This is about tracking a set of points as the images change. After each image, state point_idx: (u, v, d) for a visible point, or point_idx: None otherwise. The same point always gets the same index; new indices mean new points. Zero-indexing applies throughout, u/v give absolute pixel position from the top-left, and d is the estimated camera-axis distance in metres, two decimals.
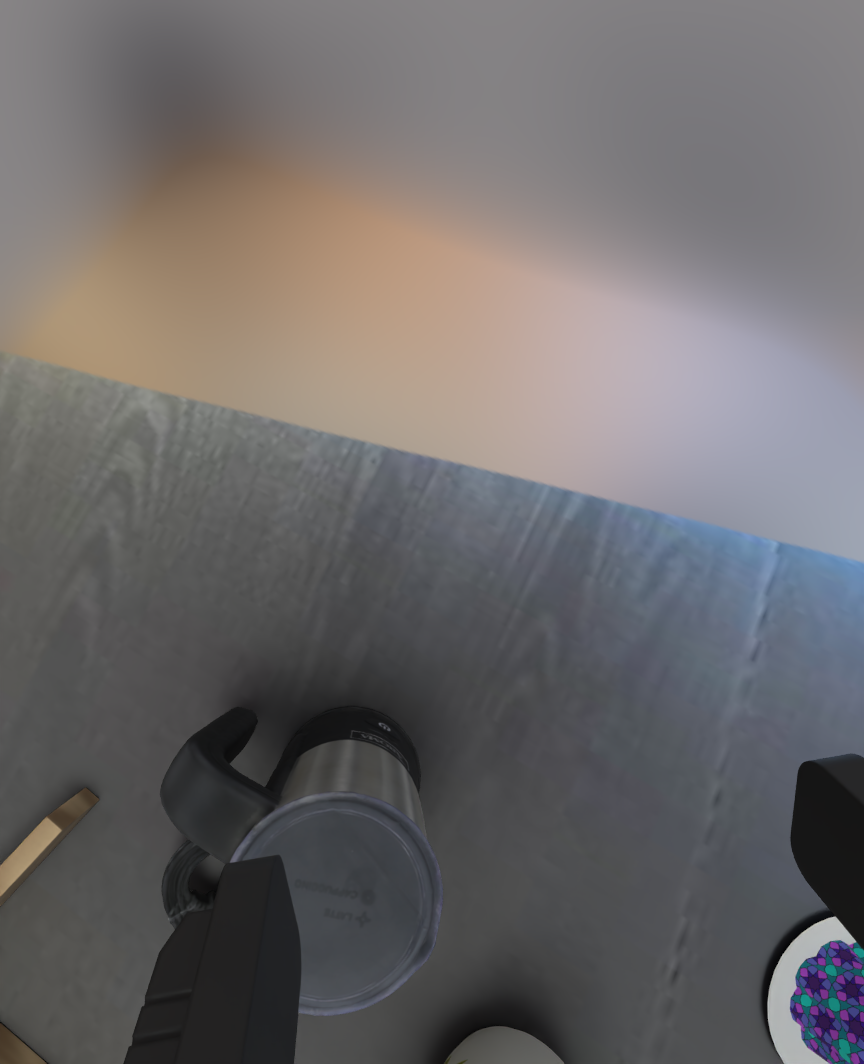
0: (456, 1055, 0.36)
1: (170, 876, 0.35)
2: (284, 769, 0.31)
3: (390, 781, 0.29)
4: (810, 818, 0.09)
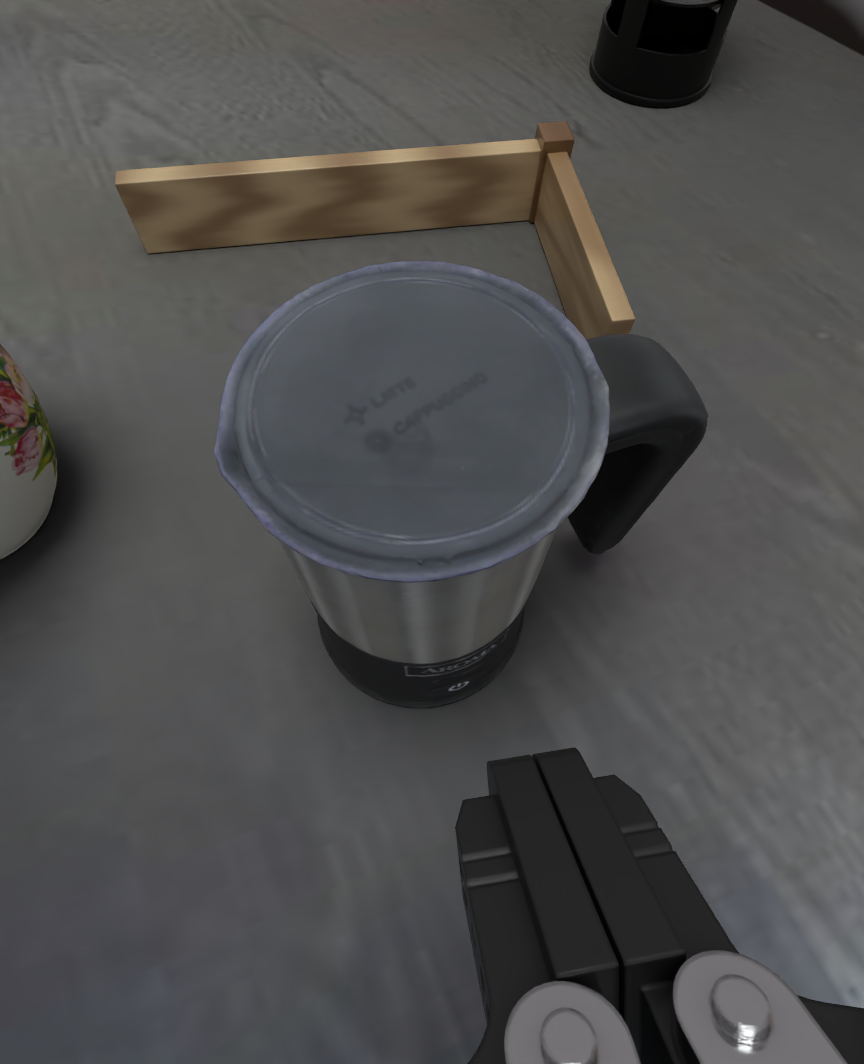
0: (49, 479, 0.27)
1: None
2: None
3: (460, 617, 0.16)
4: None
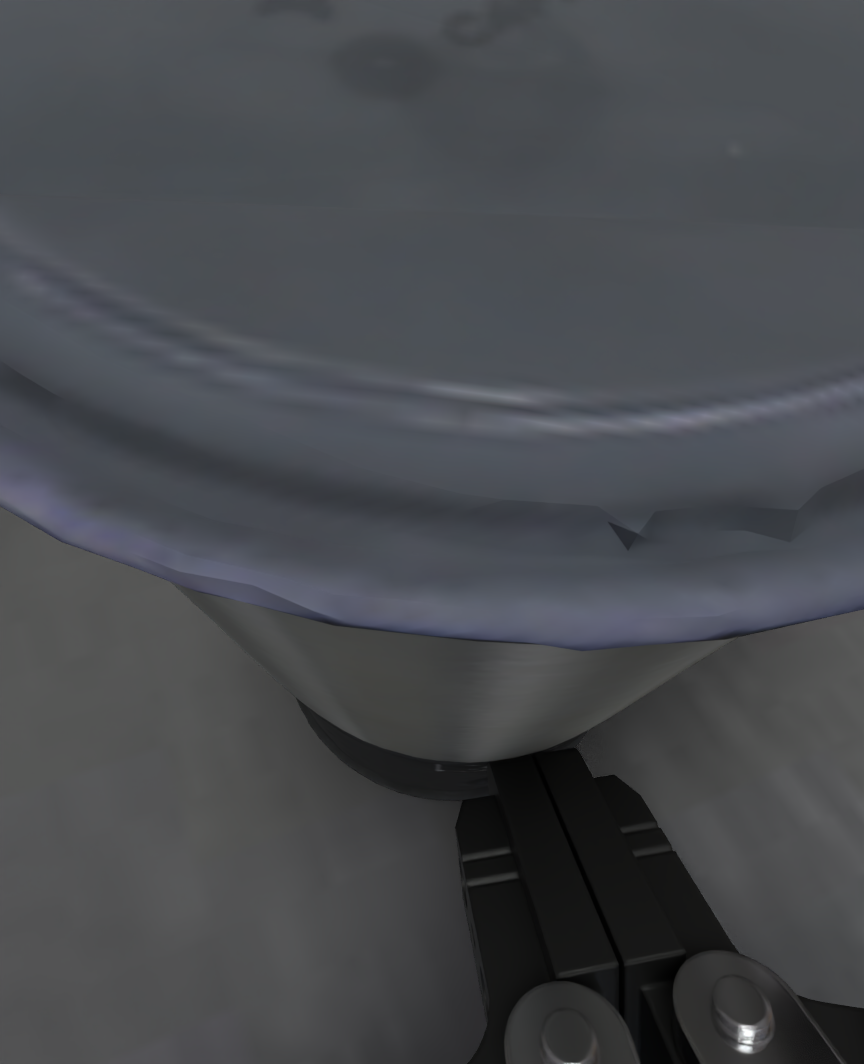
0: None
1: None
2: None
3: (615, 702, 0.06)
4: None
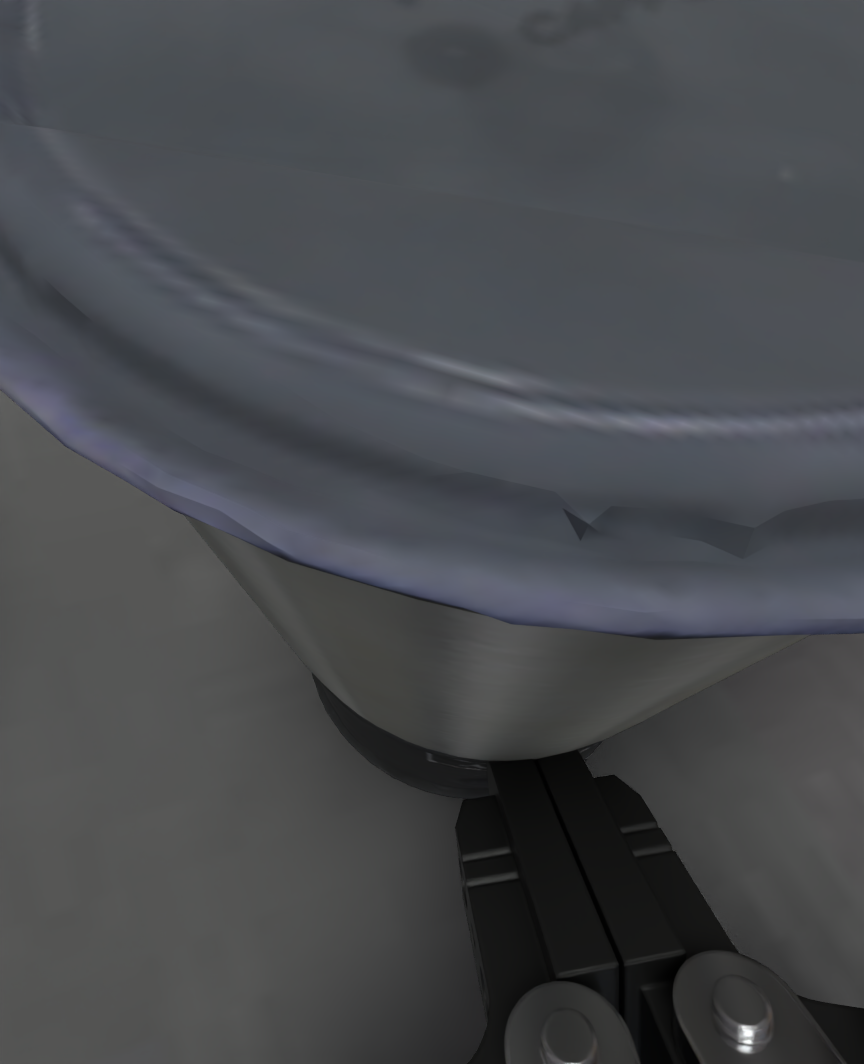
0: None
1: None
2: None
3: (599, 716, 0.06)
4: None
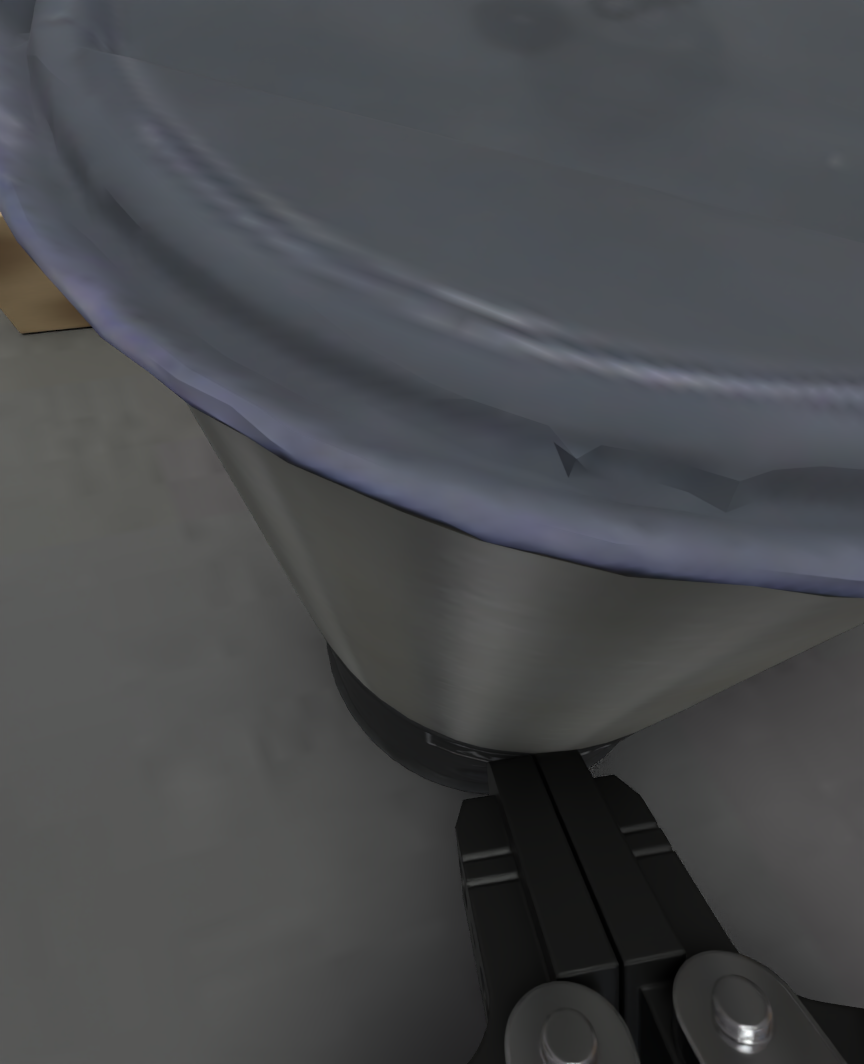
0: None
1: None
2: None
3: (595, 705, 0.06)
4: None
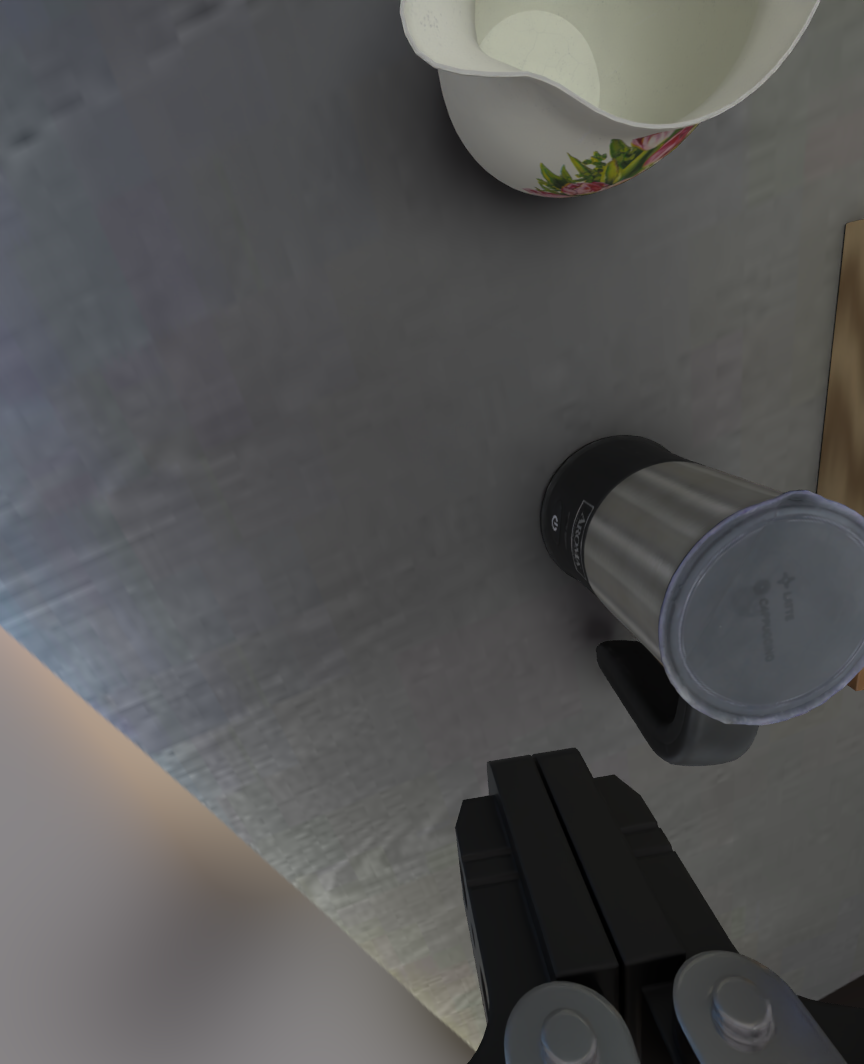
0: None
1: None
2: None
3: (623, 573, 0.25)
4: None
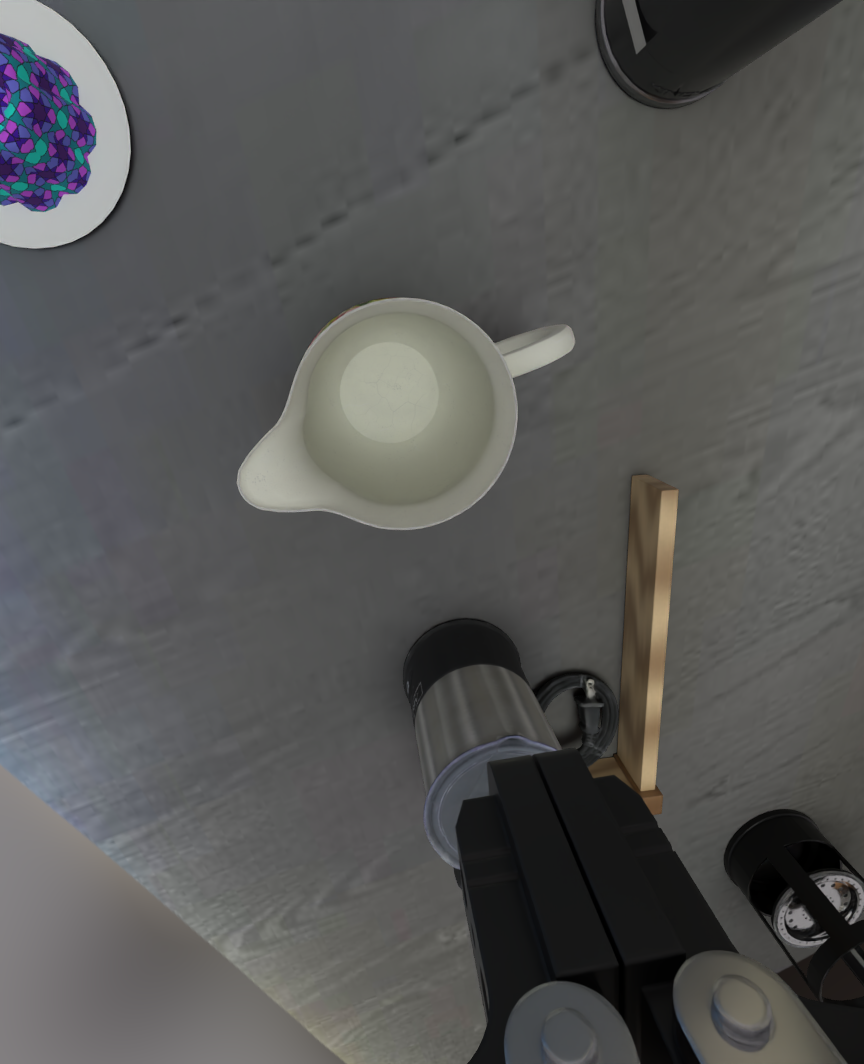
0: None
1: None
2: None
3: (422, 760, 0.36)
4: None
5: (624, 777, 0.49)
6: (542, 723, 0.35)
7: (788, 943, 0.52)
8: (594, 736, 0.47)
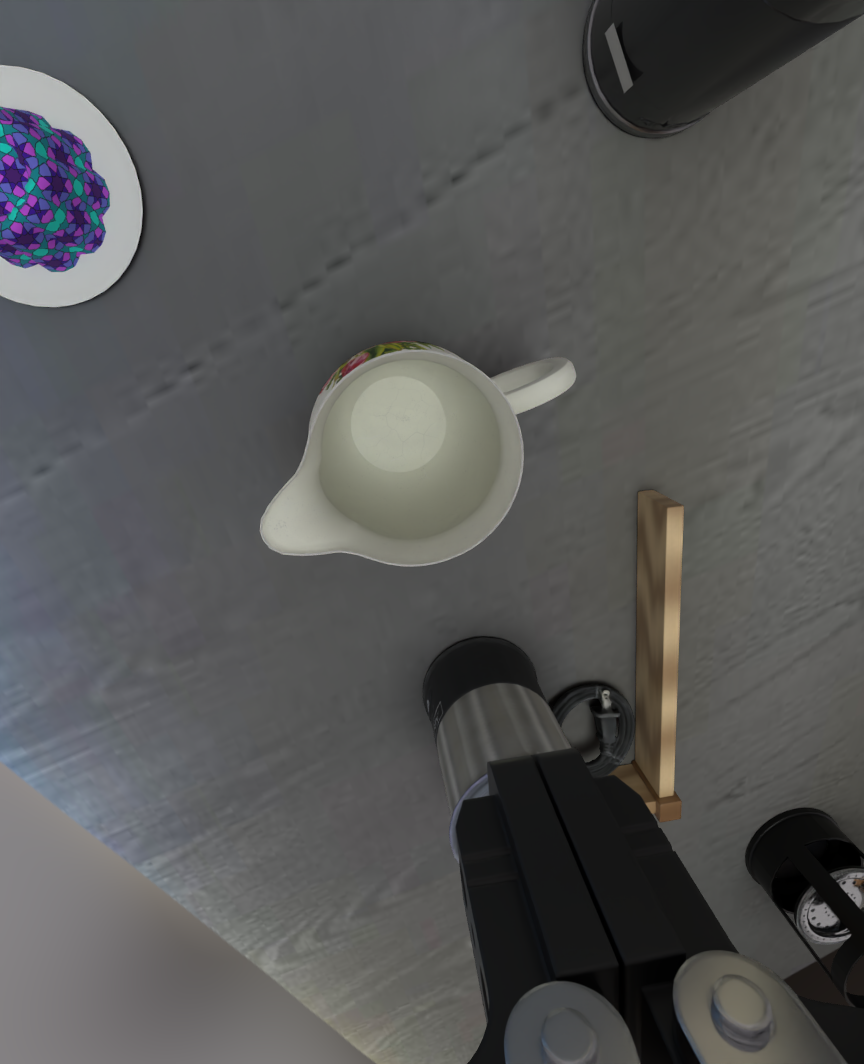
0: None
1: None
2: None
3: (445, 780, 0.37)
4: None
5: (643, 784, 0.50)
6: (560, 740, 0.36)
7: (812, 940, 0.52)
8: (611, 745, 0.48)
